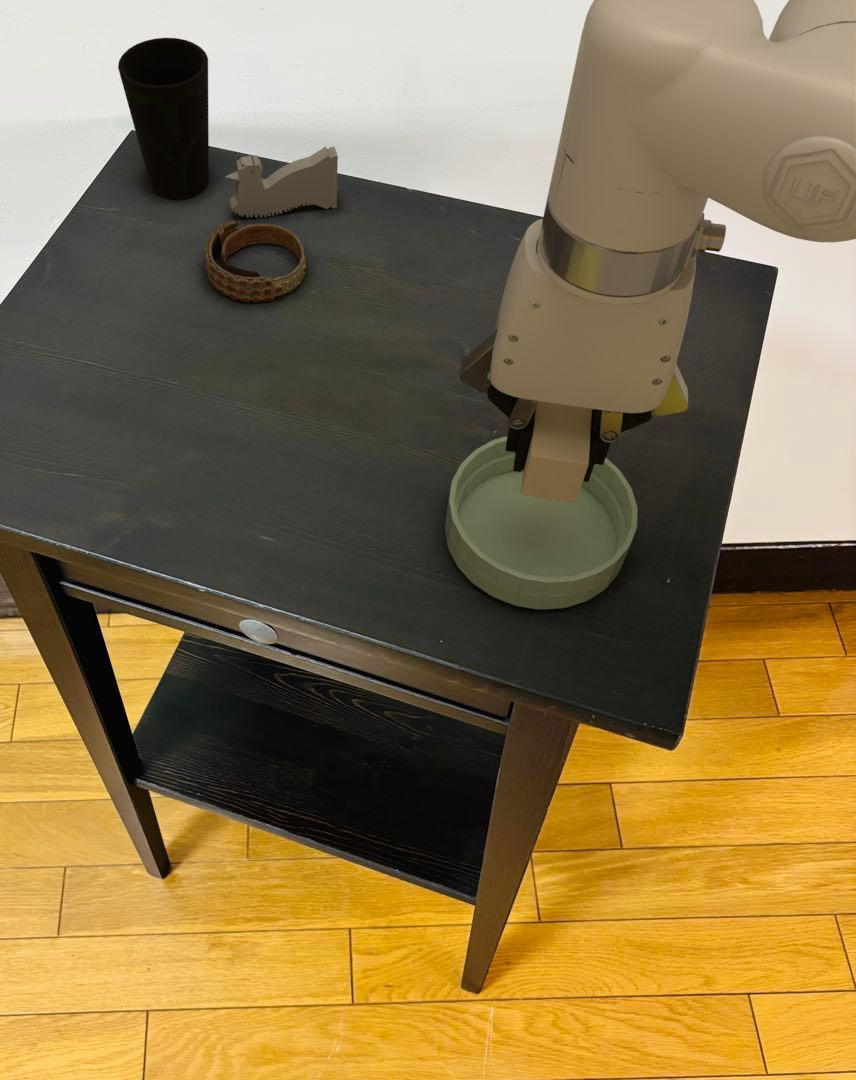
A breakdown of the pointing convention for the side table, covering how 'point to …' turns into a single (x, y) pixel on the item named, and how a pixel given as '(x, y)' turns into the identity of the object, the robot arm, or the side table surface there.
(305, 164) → the serrated bird cutout
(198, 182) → the cup
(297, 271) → the bracelet
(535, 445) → the tan rectangular block
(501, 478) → the bowl
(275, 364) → the side table surface
